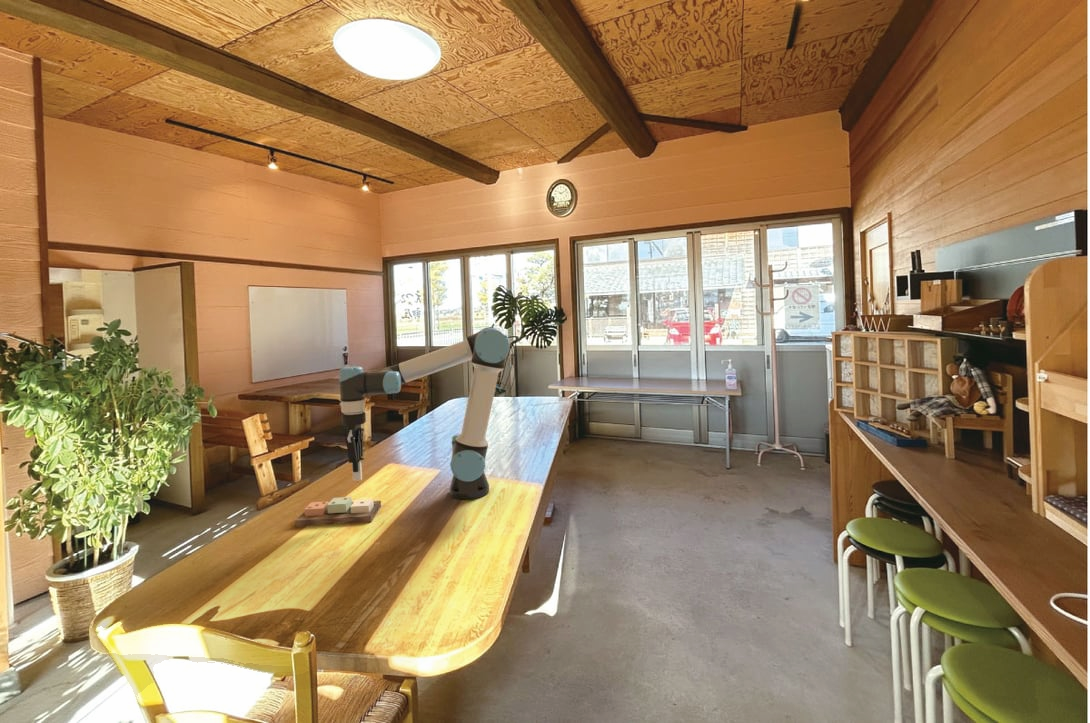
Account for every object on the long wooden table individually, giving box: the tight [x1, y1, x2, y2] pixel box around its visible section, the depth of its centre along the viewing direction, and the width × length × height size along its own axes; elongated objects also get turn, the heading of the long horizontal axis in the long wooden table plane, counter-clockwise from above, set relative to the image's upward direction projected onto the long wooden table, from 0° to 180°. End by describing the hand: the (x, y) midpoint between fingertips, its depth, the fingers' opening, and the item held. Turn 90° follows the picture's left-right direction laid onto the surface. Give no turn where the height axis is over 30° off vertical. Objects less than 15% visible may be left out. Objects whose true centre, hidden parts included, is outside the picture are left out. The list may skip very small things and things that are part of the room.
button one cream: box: [350, 498, 375, 513], centre depth 161 cm, size 6×6×3 cm
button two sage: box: [327, 496, 353, 513], centre depth 160 cm, size 6×6×3 cm
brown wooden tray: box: [295, 500, 382, 528], centre depth 161 cm, size 24×13×2 cm, turn 95°
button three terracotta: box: [303, 501, 330, 516], centre depth 160 cm, size 6×6×3 cm
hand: (357, 479), depth 160 cm, fingers closed
